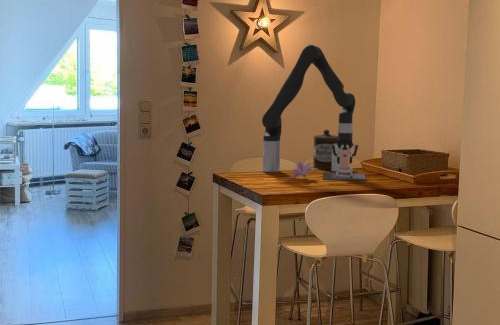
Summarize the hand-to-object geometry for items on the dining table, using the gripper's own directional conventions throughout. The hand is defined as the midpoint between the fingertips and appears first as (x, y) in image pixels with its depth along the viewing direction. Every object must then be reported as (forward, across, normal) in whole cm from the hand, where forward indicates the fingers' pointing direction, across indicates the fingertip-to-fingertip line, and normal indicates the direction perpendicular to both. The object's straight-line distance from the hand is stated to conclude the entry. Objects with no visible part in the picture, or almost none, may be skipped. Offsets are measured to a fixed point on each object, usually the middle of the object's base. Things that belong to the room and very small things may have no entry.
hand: (344, 163), depth 325 cm
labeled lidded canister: (+8, +10, -34) cm, 36 cm away
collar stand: (+7, 0, 0) cm, 7 cm away
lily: (+8, +21, +8) cm, 24 cm away
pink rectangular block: (+6, 0, 0) cm, 6 cm away
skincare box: (+8, +2, -21) cm, 22 cm away
